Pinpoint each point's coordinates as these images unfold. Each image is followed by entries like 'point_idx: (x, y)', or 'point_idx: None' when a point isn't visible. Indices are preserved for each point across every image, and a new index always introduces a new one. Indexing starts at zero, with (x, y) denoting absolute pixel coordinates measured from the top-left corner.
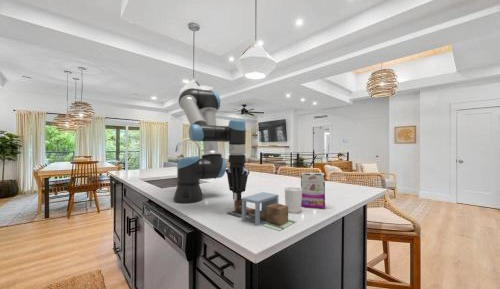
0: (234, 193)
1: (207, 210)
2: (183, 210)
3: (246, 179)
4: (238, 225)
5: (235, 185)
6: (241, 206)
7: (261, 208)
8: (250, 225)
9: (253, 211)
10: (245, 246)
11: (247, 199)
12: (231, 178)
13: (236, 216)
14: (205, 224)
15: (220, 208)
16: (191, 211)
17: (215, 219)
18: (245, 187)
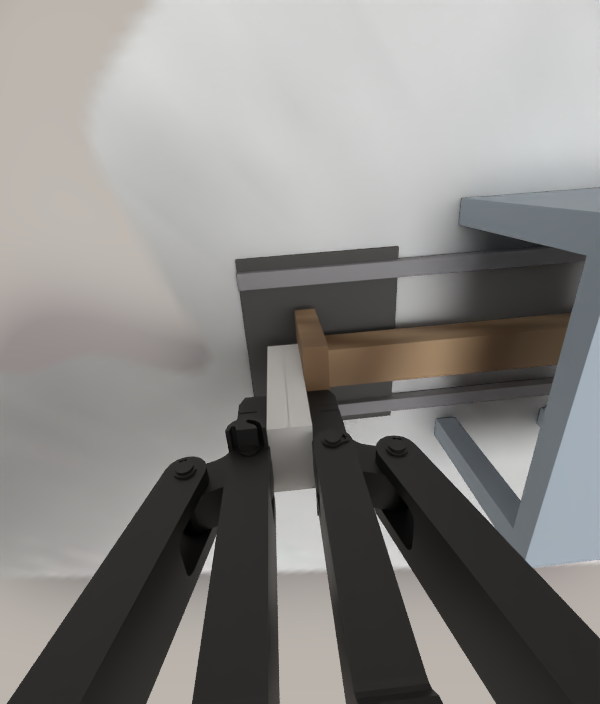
0: (284, 486)
1: (103, 474)
2: (12, 565)
3: (581, 642)
4: (461, 482)
5: (273, 556)
6: (334, 367)
7: (479, 229)
8: (516, 444)
9: (484, 368)
10: (596, 560)
11: (585, 557)
12: (116, 700)
13: (359, 417)
14: (322, 568)
15: (111, 388)
16: (64, 543)
17: (299, 514)
18: (447, 482)
